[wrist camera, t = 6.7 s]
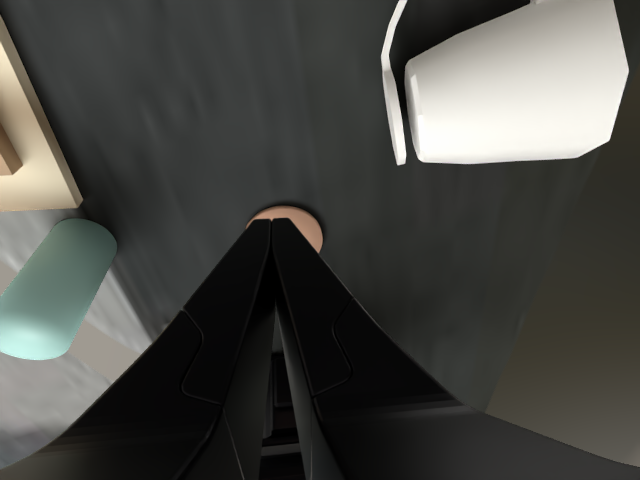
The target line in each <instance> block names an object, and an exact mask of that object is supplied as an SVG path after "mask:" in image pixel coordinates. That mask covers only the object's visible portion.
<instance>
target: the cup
mask: <svg viewBox="0 0 640 480" xmlns="http://www.w3.org/2000/svg"><path fill="white" fill-rule="evenodd" d="M406 2H407V0H399V2H398V4H397V7H396V9H395V11H394V14H393V16H392V19H391V21H390V23H389V26H388V30H387V34H386V38H385V42H384V46H383V50H382V54H381V61H382V71H383V86H384V93H385V100H386V107H387V114H388V120H389V126H390V132H391V137H392V143H393V149H394V153H395V157H396V161H397V165H401V164H405V160H406V150H405V141H404V133H403V124H402V117H401V111H400V106H399V100H398V95H397V89H396V83H395V79H394V76H393V73H392V70H391V67H390V61H389V51H390V47H391V43H392V39H393V35H394V31H395V27H396V25H397V23H398V20H399V18H400V16H401V14H402V11H403V9H404V7H405V4H406ZM628 72H629V69H628V64H627V60H626V55H625V51H624V46H623V42H622V37H621V33H620V28H619V24H618V19H617V15H616V10H615V6H614V1H613V0H530V4H528V5H526V6H523V7H521V8H519V9H517V10H514V11H512V12H510V13H507V14H505V15H502V16H500V17H497V18H495V19H493V20H490V21H488V22H485V23H483V24H480V25H478V26H476V27H473V28H471V29H468V30H466V31H464V32H461V33H459V34H456V35H454V36H453V37H451V38H449V39H447V40H445V41H443V42H442V43H440V44H438V45H436V46H434V47H432V48H430V49H429V50H427V51H425V52H423V53H421V54H419V55H418V56H416V57H414V58H412V59H410V60H409V61H408V63H407V64H406V66H405V81H404V83H405V92H406V102H407V111H408V118H409V123H410V129H411V134H412V140H413V144H414V147H415V150H416V153H417V157H418V159H419V160H421V161H422V162H432V163H455V164H478V163H493V162H508V161H526V160H549V159H565V158H577V157H579V156H581V155H583V154H585V153H587V152H589V151H590V150H592V149H594V148H596V147H598V146H600V145H602V144H604V143H606V142H607V141H609V140H610V137H611V133H612V130H613V126H614V122H615V119H616V115H617V112H618V108H619V104H620V101H621V97H622V94H623V90H624V87H625V83H626V79H627V76H628Z"/></svg>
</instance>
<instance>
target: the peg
mask: <svg viewBox="0 0 640 480" xmlns="http://www.w3.org/2000/svg"><path fill="white" fill-rule="evenodd" d="M116 253H117V243H116V240H115V238H114V237H113V235H112V234H111V233H110V232H109V231H108V230H107V229H106V228H104V227H103V226H101V225H99V224H97V223H95V222H93V221H90V220H86V219H79V218H72V219H66V220H63V221H61V222H59V223H57V224H56V225H55V226H54V227H53V229H52V230H51V231H50V233H49V234H48V235H47V237H46V238H45V239H44V240H43V242H42V243H41V244H40V246H39V247H38V248H37V250H36V251H35V252H34V253H33V255H32V256H31V257H30V259H29V260H28V261H27V263H26V264H25V265H24V267H23V268H22V269H21V270H20V272H19V273H18V274H17V276H16V277H15V278H14V280H13V281H12V282H11V283H10V285H9V286H8V287H7V289H6V290H5V291H4V293H3V294H2V295H1V296H0V351H1V352H3V353H6V354H8V355H11V356H14V357H18V358H23V359H31V360H45V359H52V358H55V357H58V356H60V355H62V354H64V353H65V352H66V351H67V350H68V349H69V347H70V345H71V343H72V341H73V339H74V337H75V335H76V333H77V331H78V329H79V327H80V325H81V323H82V321H83V319H84V317H85V315H86V313H87V311H88V309H89V307H90V305H91V303H92V301H93V299H94V297H95V295H96V293H97V291H98V289H99V287H100V285H101V283H102V281H103V279H104V277H105V275H106V273H107V271H108V269H109V267H110V265H111V263H112V261H113V259H114V257H115V255H116Z"/></svg>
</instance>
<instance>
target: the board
mask: <svg viewBox="0 0 640 480" xmlns="http://www.w3.org/2000/svg"><path fill="white" fill-rule="evenodd" d="M82 201H83V198H82V196H81V194H80V192H79V189H78V187H77V185H76V183H75V180H74V178H73V176H72V174H71V171H70V169H69V167H68V165H67V162H66V160H65V158H64V156H63V153H62V151H61V149H60V147H59V145H58V142H57V140H56V138H55V136H54V133H53V131H52V129H51V127H50V124H49V122H48V120H47V118H46V115H45V113H44V111H43V109H42V106H41V104H40V102H39V100H38V97H37V95H36V93H35V91H34V89H33V86H32V84H31V82H30V80H29V77H28V75H27V73H26V71H25V68H24V66H23V64H22V62H21V59H20V57H19V55H18V53H17V50H16V48H15V46H14V44H13V41H12V39H11V37H10V35H9V33H8V30H7V28H6V26H5V24H4V21H3V19H2V17H1V15H0V212H1V211H23V210H44V209H65V208H78V207H79V205H80V204H81V203H82Z"/></svg>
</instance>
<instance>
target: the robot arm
mask: <svg viewBox="0 0 640 480" xmlns="http://www.w3.org/2000/svg"><path fill="white" fill-rule="evenodd" d="M276 308H277V315H278V321H279V327H280V333H281V338H282V344H283V350H284V355H281V356H271V352H272V342H273V332H274V322H275V310H276ZM0 480H640V467H637V466H632V465H628V464H624V463H620V462H616V461H613V460H610V459H606V458H603V457H600V456H597V455H595V454H592V453H589V452H587V451H584V450H581V449H579V448H576V447H573V446H571V445H568V444H565V443H562V442H560V441H557V440H554V439H552V438H549V437H547V436H543V435H541V434H538V433H536V432H533V431H531V430H528V429H525V428H523V427H520V426H517V425H514V424H512V423H509V422H507V421H504V420H501V419H499V418H496V417H493V416H491V415H488V414H485V413H483V412H480V411H478V410H476V409H474V408H472V407H470V406H468V405H467V404H465V403H464V402H462V401H461V400H459V399H458V398H456V397H455V396H454V395H453V394H451V393H450V392H449V391H448V390H447V389H445V388H444V387H443V386H442V385H441V384H440V383H439V382H438V381H437V380H436V379H435V378H433V377H432V376H431V375H430V374H429V373H428V372H427V371H426V370H425V369H424V368H423V367H422V366H421V365H420V364H419V363H417V362H416V361H415V360H414V359H413V358H412V357H411V356H410V355H409V354H408V353H407V352H406V351H405V350H404V349H403V348H402V347H400V346H399V345H398V344H397V343H396V342H395V341H394V340H393V339H392V338H391V337H390V336H389V335H388V334H387V333H386V332H385V331H384V330H383V329H382V328H381V327H380V326H379V325H378V324H377V323H376V322H375V320H374V319H373V318H372V317H371V316H370V315H369V314H368V312H367V311H366V310H365V309H364V308H363V307H362V305H361V304H360V303H359V302H358V300H357V299H356V298H354V296H353V295H352V293H351V292H350V291H349V290H348V289H347V287H346V286H345V285H344V284H343V282H342V281H341V280H340V279H339V278H338V276H337V275H336V274H335V273H334V271H333V270H332V269H331V268H330V267H329V265H328V264H327V263H326V262H325V261H324V259H323V258H322V257H321V256H320V254H319V253H318V252H317V251H316V250H315V248H314V247H313V246H312V245H311V244H310V242H309V241H308V240H307V239H306V237H305V236H304V235H303V234H302V233H301V231H300V230H299V229H298V228H297V227H296V225H295V224H294V223H293V222H292V220H291V219H290V218H287V217H286V218H274V219H272V221H271V219H269V218H266V219H254V220H253V221H252V222H251V223H250V224H249V226H248V227H247V228H246V229H245V231H244V232H243V233H242V234H241V236H240V237H239V238H238V239H237V241H236V242H235V243H234V244H233V245H232V247H231V248H230V249H229V250H228V252H227V253H226V254H225V255H224V257H223V258H222V259H221V260H220V262H219V263H218V264H217V265H216V267H215V268H214V269H213V270H212V271H211V273H210V274H209V275H208V276H207V278H206V279H205V280H204V281H203V283H202V284H201V285H200V286H199V288H198V289H197V290H196V291H195V293H194V294H193V295H192V296H191V297H190V299H189V300H188V301H187V302H186V304H185V305H184V306H183V307H182V310H180V311H179V312H178V313H177V315H176V316H175V317H174V318H173V320H172V321H171V322H170V323H169V324H168V326H167V327H166V328H165V329H164V330H163V331H162V333H161V334H160V335H159V336H158V337H157V338H156V340H155V341H154V342H153V343H152V344H151V345H150V346H149V347H148V348H147V349H146V350H145V351H144V352H143V353H142V354H141V355H140V357H139V358H138V359H137V360H136V361H135V362H134V363H133V364H132V365H131V366H130V367H129V368H128V369H127V370H126V371H125V372H124V373H123V374H122V375H121V376H120V377H119V378H118V379H117V380H116V381H115V382H114V383H113V384H112V385H111V386H110V387H109V388H108V389H107V390H106V391H105V392H104V393H103V394H102V395H101V396H100V397H99V398H98V399H97V400H96V401H95V402H94V403H93V404H92V405H91V406H90V407H89V408H88V409H87V410H86V411H85V412H84V413H83V414H82V415H81V416H80V417H79V418H78V419H77V420H76V421H75V422H74V423H72V424H71V425H70V426H69V427H68V428H67V429H66V430H65V431H64V432H62V433H61V434H60V435H59V436H57V437H56V438H55V439H54V440H52V441H51V442H49V443H48V444H47V445H45V446H44V447H42V448H41V449H39V450H37V451H36V452H34V453H32V454H31V455H29V456H27V457H25V458H23V459H21V460H19V461H17V462H15V463H12V464H10V465H8V466H6V467H4V468H2V469H0Z"/></svg>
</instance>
